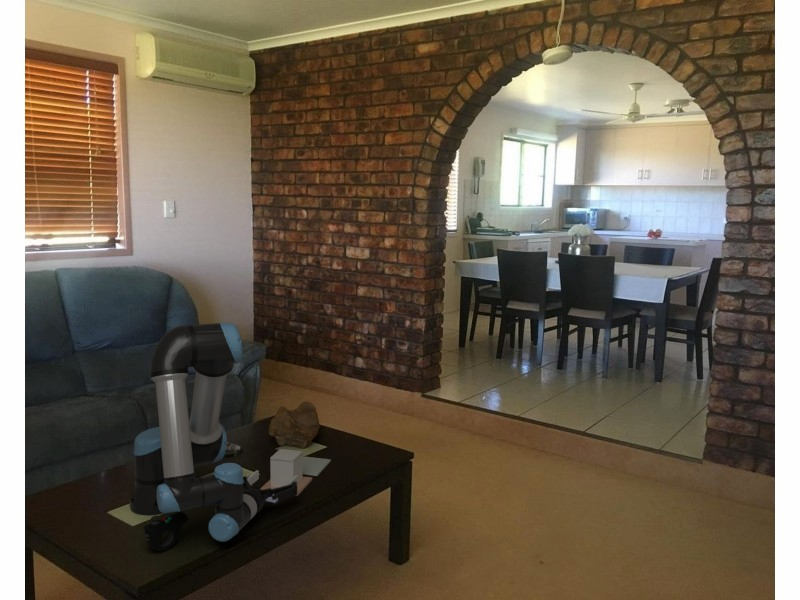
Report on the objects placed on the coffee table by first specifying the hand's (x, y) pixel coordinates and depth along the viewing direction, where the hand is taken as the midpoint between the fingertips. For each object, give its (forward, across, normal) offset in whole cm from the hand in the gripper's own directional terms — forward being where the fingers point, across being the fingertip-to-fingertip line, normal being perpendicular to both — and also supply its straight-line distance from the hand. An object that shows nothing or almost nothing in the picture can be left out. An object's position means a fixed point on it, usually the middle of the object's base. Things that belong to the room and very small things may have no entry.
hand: (277, 476), depth 208 cm
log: (+29, -34, -7) cm, 45 cm away
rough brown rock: (+46, -12, -7) cm, 48 cm away
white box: (+8, 0, -6) cm, 10 cm away
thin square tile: (+8, 0, -6) cm, 11 cm away
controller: (-38, -15, -7) cm, 41 cm away
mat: (+25, -1, -6) cm, 26 cm away
